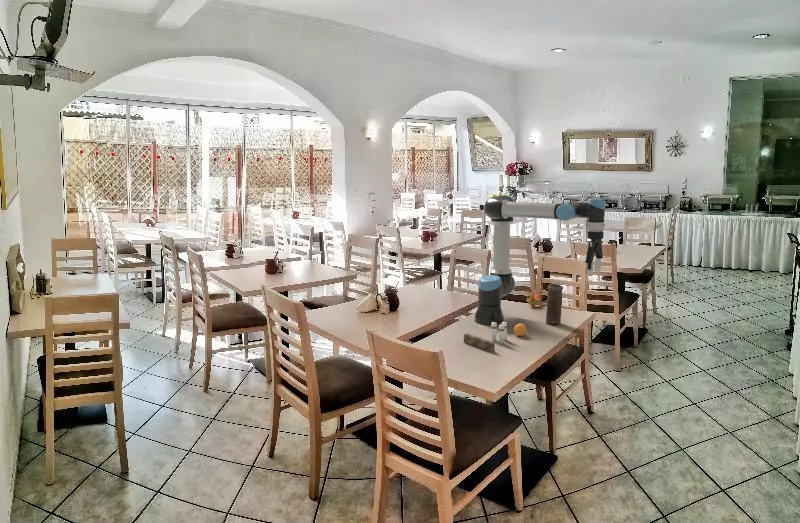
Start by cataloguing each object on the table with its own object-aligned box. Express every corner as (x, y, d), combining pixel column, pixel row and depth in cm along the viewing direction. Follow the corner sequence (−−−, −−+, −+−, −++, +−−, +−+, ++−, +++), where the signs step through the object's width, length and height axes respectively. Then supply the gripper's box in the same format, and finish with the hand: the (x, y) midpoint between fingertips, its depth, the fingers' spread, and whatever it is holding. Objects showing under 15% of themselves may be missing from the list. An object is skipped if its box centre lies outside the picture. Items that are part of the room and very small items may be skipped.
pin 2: (497, 343, 274) (498, 325, 272) (500, 341, 276) (500, 324, 274) (502, 344, 272) (503, 326, 271) (505, 342, 274) (505, 325, 273)
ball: (511, 336, 284) (512, 324, 283) (516, 333, 289) (517, 321, 288) (523, 338, 281) (524, 326, 280) (528, 335, 286) (528, 323, 284)
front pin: (500, 340, 278) (500, 322, 277) (502, 338, 280) (503, 321, 279) (505, 341, 277) (505, 323, 275) (507, 339, 279) (508, 322, 277)
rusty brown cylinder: (559, 321, 308) (561, 284, 305) (562, 325, 301) (563, 287, 298) (544, 321, 309) (546, 283, 306) (546, 325, 302) (548, 286, 298)
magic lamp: (545, 303, 346) (546, 285, 344) (532, 310, 332) (533, 291, 330) (534, 302, 350) (535, 283, 348) (521, 308, 336) (521, 289, 334)
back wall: (463, 342, 276) (463, 334, 275) (466, 341, 277) (467, 333, 276) (491, 352, 261) (491, 343, 260) (494, 351, 262) (494, 342, 262)
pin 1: (490, 340, 278) (490, 323, 276) (492, 339, 280) (492, 321, 278) (495, 341, 276) (495, 323, 275) (497, 340, 278) (497, 322, 277)
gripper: (596, 234, 274) (594, 279, 278) (610, 228, 294) (608, 270, 298) (579, 233, 278) (578, 277, 282) (595, 227, 299) (593, 268, 302)
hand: (593, 273), depth 290 cm, fingers open, 13 cm apart
